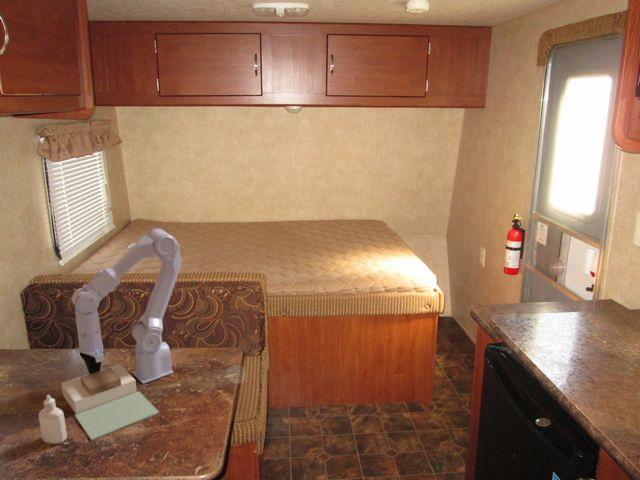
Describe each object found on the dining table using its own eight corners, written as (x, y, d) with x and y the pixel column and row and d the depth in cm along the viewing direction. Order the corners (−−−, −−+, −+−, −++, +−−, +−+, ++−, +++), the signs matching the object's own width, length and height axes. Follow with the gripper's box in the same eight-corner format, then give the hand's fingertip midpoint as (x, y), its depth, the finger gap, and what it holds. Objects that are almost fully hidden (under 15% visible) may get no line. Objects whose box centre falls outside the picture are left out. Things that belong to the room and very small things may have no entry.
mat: (139, 392, 142) (139, 391, 142) (159, 413, 132) (159, 411, 132) (75, 416, 131) (74, 415, 131) (91, 441, 122) (91, 439, 121)
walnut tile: (110, 373, 144) (110, 367, 143) (121, 385, 138) (120, 378, 138) (81, 383, 139) (80, 377, 138) (90, 396, 133) (89, 389, 133)
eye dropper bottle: (50, 449, 119) (43, 404, 116) (40, 439, 122) (33, 395, 119) (69, 440, 122) (62, 396, 119) (59, 430, 125) (52, 387, 122)
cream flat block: (120, 375, 151) (119, 363, 149) (136, 392, 142) (135, 380, 141) (63, 395, 140) (61, 382, 139) (76, 415, 132) (74, 401, 131)
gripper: (65, 326, 141) (71, 370, 145) (82, 344, 131) (88, 391, 134) (92, 319, 146) (97, 362, 149) (109, 336, 135) (115, 381, 139)
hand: (94, 375), depth 142 cm, fingers closed
